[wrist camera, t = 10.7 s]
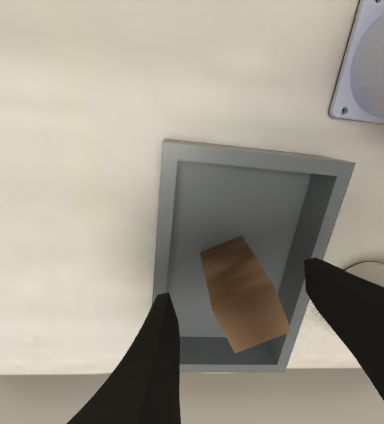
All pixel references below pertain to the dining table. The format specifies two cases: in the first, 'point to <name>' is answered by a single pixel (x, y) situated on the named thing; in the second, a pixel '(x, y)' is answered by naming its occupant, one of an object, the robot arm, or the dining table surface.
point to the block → (242, 295)
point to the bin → (252, 233)
